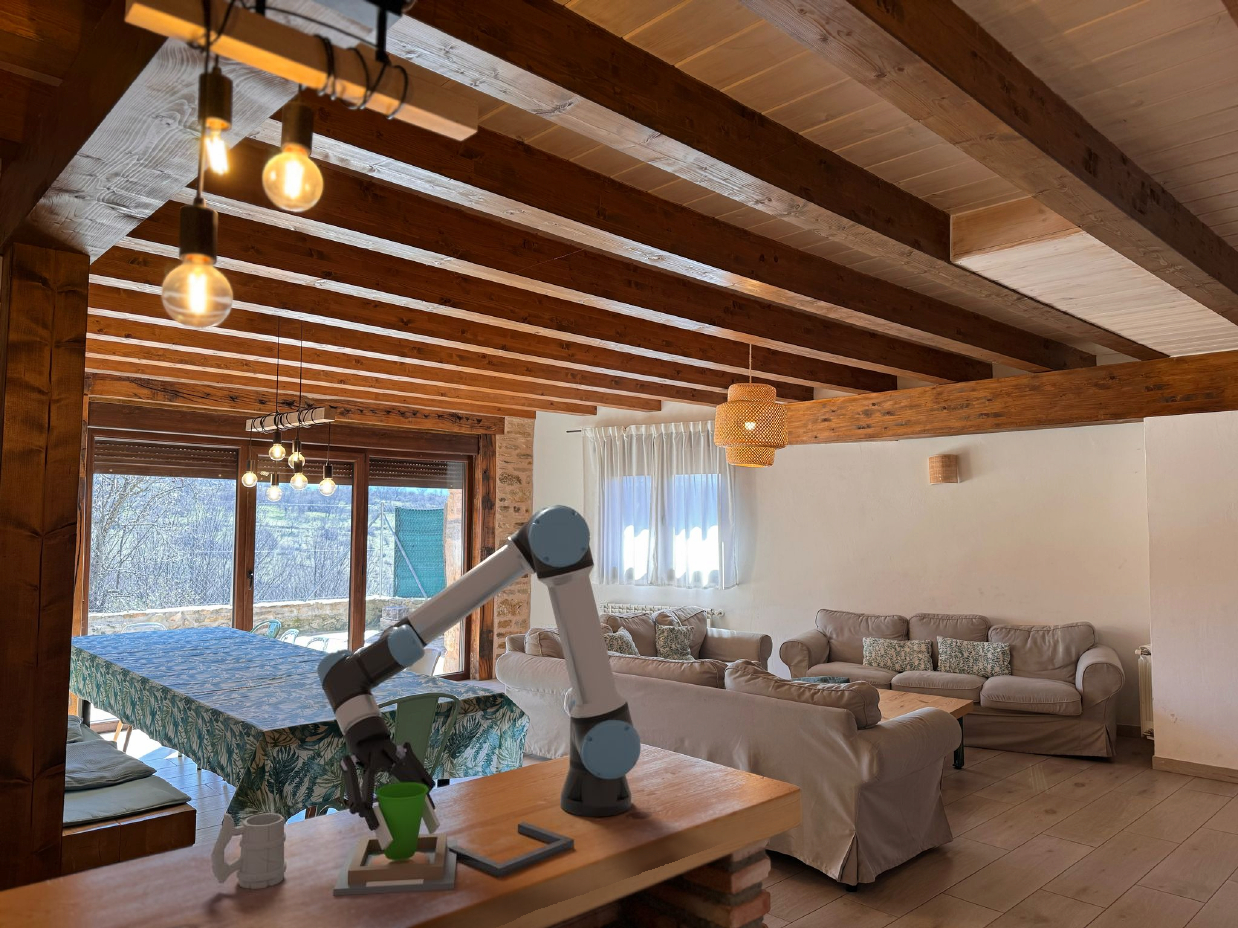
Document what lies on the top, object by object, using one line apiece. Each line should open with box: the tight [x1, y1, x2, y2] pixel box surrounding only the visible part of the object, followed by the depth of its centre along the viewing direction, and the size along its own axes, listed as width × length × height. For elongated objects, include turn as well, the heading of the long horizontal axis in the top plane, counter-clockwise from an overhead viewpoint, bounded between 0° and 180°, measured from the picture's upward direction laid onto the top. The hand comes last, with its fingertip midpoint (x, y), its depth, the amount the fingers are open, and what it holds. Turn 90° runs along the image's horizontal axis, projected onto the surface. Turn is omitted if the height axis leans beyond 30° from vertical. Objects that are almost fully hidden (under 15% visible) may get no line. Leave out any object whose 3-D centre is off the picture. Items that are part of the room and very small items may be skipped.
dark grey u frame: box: [449, 821, 575, 878], centre depth 156 cm, size 14×18×2 cm
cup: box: [374, 781, 429, 860], centre depth 148 cm, size 9×9×11 cm
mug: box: [210, 812, 288, 890], centre depth 141 cm, size 8×12×12 cm, turn 131°
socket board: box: [332, 832, 458, 896], centre depth 147 cm, size 19×19×3 cm
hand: (412, 836), depth 146 cm, fingers closed on cup, 9 cm apart
